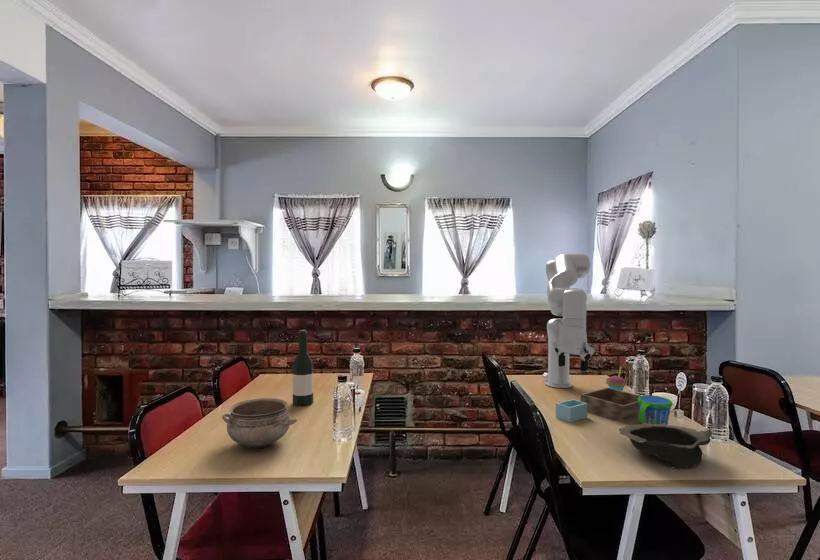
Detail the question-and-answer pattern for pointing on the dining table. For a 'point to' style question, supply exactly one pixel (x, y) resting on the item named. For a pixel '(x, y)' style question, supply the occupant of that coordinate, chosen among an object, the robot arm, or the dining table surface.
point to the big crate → (612, 404)
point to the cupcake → (616, 382)
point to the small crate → (571, 410)
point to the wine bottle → (302, 374)
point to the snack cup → (654, 409)
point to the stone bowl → (668, 442)
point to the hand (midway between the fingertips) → (572, 368)
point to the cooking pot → (258, 422)
